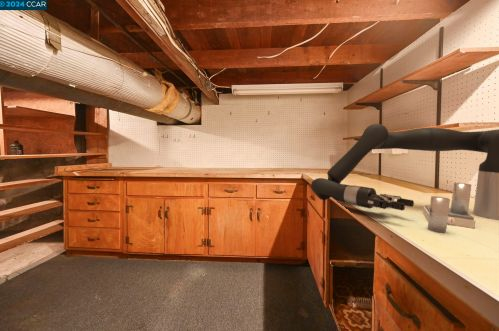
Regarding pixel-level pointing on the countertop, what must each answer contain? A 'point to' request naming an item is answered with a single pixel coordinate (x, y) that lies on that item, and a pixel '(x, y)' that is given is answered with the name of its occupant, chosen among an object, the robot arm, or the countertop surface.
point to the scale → (454, 218)
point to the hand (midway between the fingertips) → (409, 205)
